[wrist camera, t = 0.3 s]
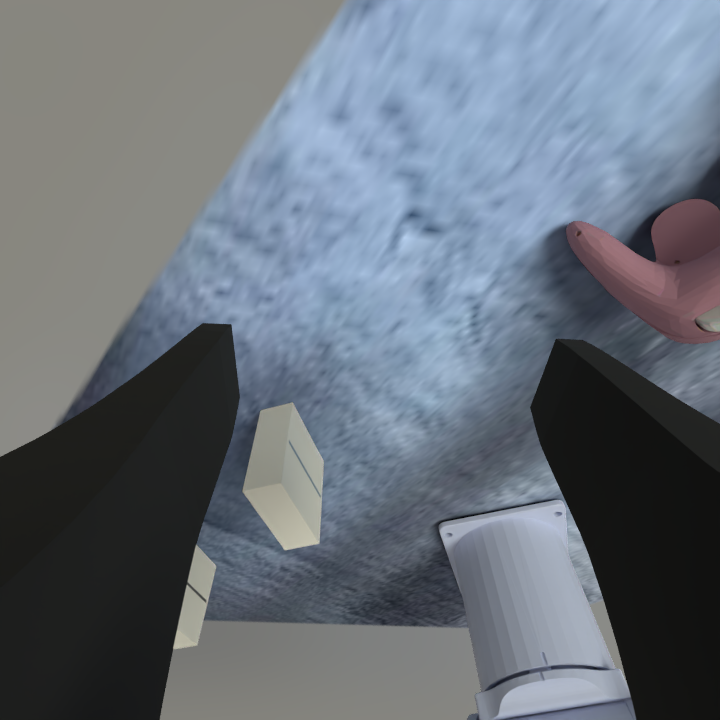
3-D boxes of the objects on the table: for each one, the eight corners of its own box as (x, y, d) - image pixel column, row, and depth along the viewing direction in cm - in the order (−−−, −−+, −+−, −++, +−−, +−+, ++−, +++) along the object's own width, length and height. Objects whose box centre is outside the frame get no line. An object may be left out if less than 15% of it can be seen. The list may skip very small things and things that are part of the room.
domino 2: (324, 461, 27) (319, 543, 22) (294, 467, 27) (284, 550, 23) (292, 402, 24) (280, 482, 20) (260, 410, 24) (242, 491, 20)
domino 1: (216, 566, 33) (197, 645, 29) (193, 570, 33) (171, 649, 29) (182, 528, 30) (155, 610, 26) (157, 533, 30) (127, 615, 26)
